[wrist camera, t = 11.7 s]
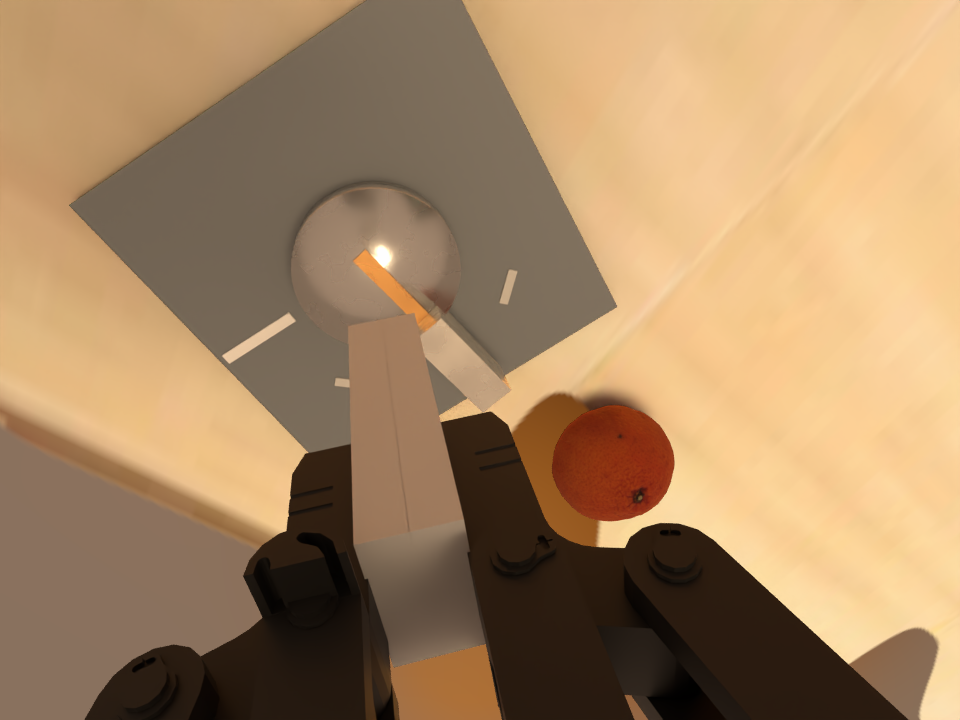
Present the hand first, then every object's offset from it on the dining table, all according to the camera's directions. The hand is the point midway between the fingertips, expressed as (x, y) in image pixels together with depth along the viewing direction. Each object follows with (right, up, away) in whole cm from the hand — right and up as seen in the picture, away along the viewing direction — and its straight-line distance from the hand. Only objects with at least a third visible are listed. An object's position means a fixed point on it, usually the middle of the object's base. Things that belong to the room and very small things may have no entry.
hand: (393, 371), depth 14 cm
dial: (-3, +4, +26) cm, 26 cm away
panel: (-5, +7, +26) cm, 27 cm away
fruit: (+11, -6, +36) cm, 38 cm away
